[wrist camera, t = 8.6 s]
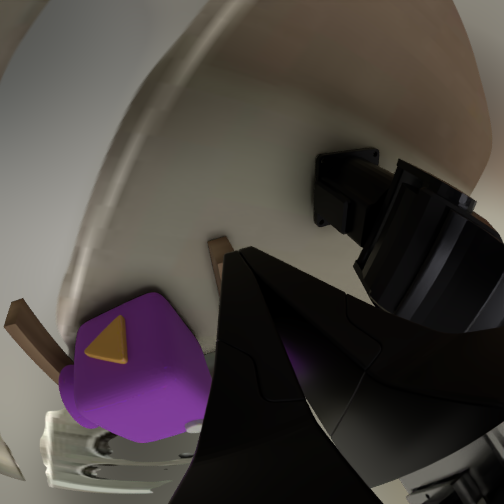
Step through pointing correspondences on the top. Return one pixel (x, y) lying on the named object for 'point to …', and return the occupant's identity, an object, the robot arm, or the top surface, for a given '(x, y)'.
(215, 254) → the walnut dock
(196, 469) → the robot arm
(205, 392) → the toy camera
